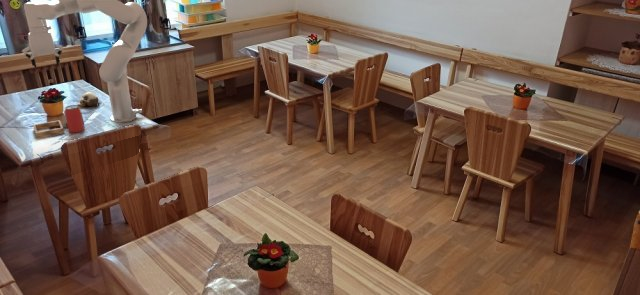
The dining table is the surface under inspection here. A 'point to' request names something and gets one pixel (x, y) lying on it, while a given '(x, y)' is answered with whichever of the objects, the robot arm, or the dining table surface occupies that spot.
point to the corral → (47, 125)
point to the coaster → (75, 133)
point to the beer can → (74, 118)
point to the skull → (88, 100)
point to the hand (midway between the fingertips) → (46, 65)
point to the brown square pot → (81, 115)
